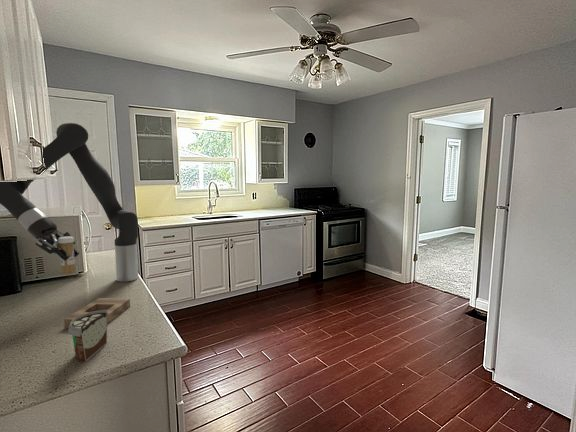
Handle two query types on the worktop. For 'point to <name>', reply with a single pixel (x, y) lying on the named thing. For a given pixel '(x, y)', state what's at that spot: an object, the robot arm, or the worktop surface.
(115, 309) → the walnut caddy
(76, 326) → the food container
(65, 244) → the sprinkles bottle
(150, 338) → the worktop surface
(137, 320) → the worktop surface
